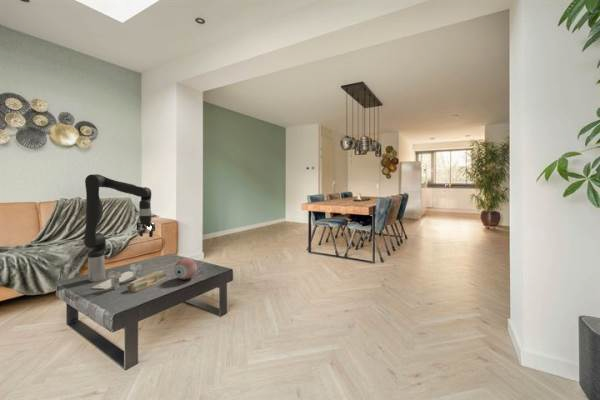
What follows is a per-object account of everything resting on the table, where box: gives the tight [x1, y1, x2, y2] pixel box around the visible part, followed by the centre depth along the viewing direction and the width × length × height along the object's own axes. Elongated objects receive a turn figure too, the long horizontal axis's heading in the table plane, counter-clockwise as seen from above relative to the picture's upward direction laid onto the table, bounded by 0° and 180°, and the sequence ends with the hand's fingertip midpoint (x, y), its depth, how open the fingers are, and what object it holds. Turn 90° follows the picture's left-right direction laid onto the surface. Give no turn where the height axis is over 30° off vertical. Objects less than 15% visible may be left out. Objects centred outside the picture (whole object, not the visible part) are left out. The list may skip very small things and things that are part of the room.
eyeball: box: [173, 257, 198, 280], centre depth 189 cm, size 15×15×15 cm
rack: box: [125, 273, 168, 293], centre depth 180 cm, size 9×26×3 cm, turn 166°
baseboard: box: [91, 270, 133, 290], centre depth 186 cm, size 31×3×12 cm
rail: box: [129, 270, 164, 290], centre depth 180 cm, size 4×24×5 cm, turn 166°
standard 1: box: [108, 270, 122, 291], centre depth 172 cm, size 6×4×11 cm, turn 76°
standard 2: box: [129, 263, 143, 281], centre depth 187 cm, size 6×4×11 cm, turn 76°
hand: (146, 236), depth 191 cm, fingers open, 8 cm apart
